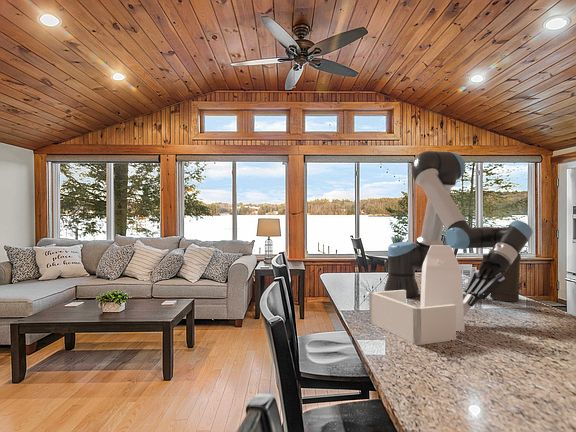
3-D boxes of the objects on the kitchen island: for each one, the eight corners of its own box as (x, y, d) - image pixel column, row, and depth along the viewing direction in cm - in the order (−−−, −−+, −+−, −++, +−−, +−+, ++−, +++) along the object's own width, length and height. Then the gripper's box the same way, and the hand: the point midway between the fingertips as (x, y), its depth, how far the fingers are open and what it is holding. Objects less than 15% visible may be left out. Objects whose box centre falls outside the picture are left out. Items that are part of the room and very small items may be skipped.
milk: (457, 322, 132) (456, 244, 132) (464, 332, 121) (464, 247, 121) (419, 320, 135) (419, 244, 135) (423, 329, 124) (423, 246, 123)
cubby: (369, 322, 133) (369, 292, 133) (403, 318, 137) (403, 289, 137) (416, 345, 109) (416, 309, 109) (456, 339, 113) (456, 305, 113)
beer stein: (513, 297, 171) (513, 250, 171) (525, 302, 160) (525, 253, 160) (476, 296, 172) (476, 250, 172) (486, 302, 162) (486, 253, 161)
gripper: (478, 249, 140) (440, 300, 135) (510, 253, 128) (469, 309, 122) (490, 264, 142) (453, 314, 136) (522, 268, 130) (483, 324, 124)
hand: (461, 311), depth 129 cm, fingers closed
